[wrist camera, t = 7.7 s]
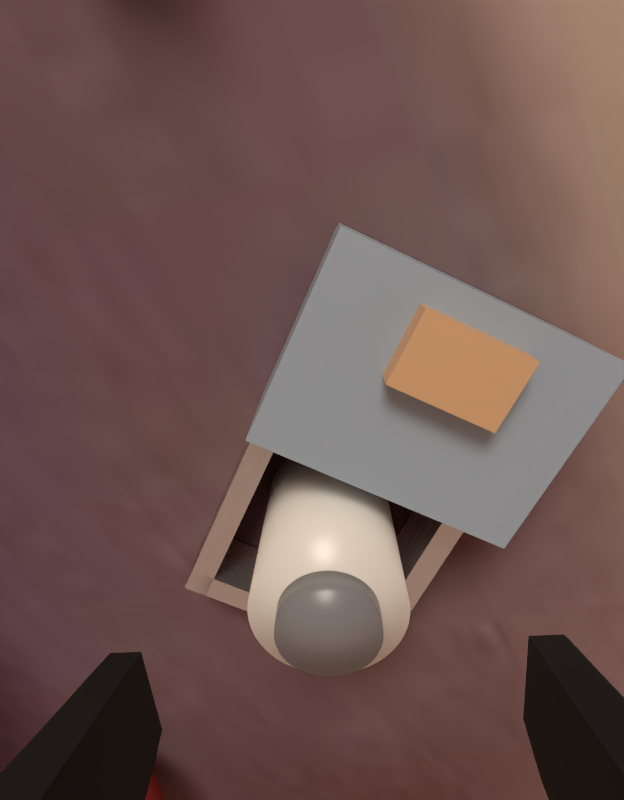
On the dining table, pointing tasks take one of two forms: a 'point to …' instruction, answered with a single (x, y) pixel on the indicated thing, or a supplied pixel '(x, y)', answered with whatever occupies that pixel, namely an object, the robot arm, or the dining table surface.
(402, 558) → the beige tray
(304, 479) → the cream capped bottle
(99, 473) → the dining table surface
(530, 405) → the block
